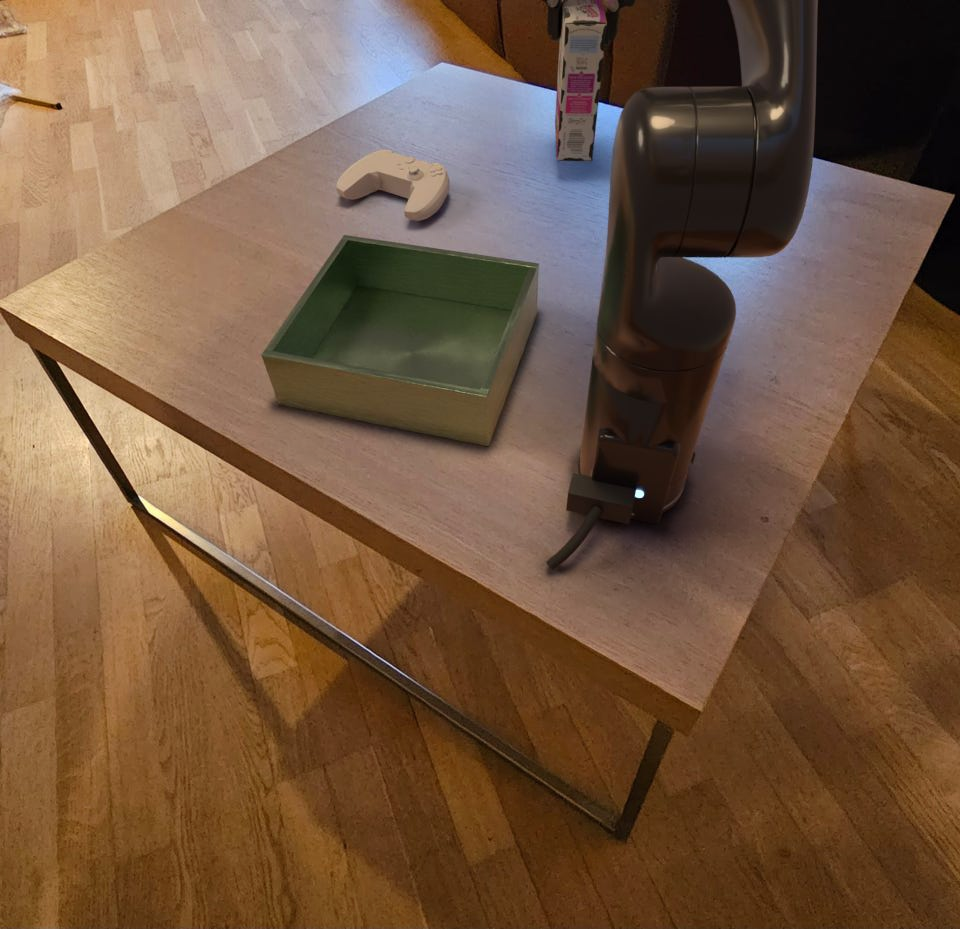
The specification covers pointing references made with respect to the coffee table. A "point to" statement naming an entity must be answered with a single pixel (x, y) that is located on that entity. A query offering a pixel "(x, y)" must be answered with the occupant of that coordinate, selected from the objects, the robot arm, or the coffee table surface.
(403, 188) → the game controller
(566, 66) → the candy bar box
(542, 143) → the coffee table surface
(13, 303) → the coffee table surface
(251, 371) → the coffee table surface
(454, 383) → the shallow wooden crate
